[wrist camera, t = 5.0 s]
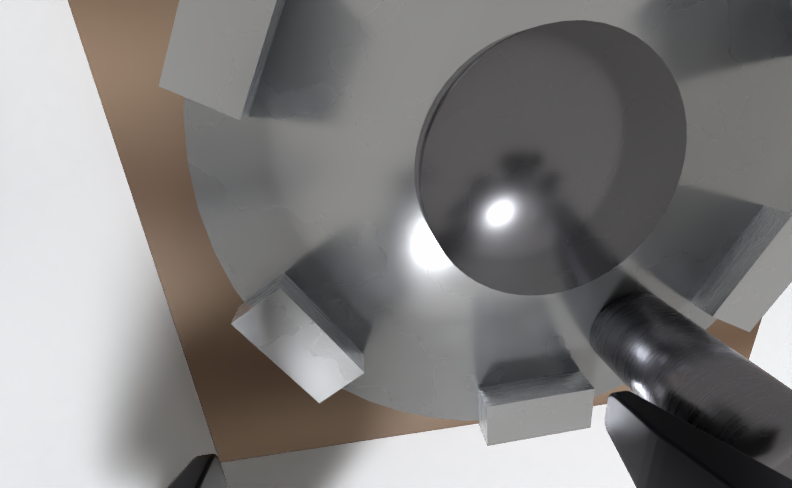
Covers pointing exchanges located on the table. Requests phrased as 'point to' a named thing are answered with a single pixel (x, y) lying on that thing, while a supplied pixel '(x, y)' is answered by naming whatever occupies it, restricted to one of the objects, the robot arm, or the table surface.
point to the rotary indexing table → (501, 200)
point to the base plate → (202, 271)
